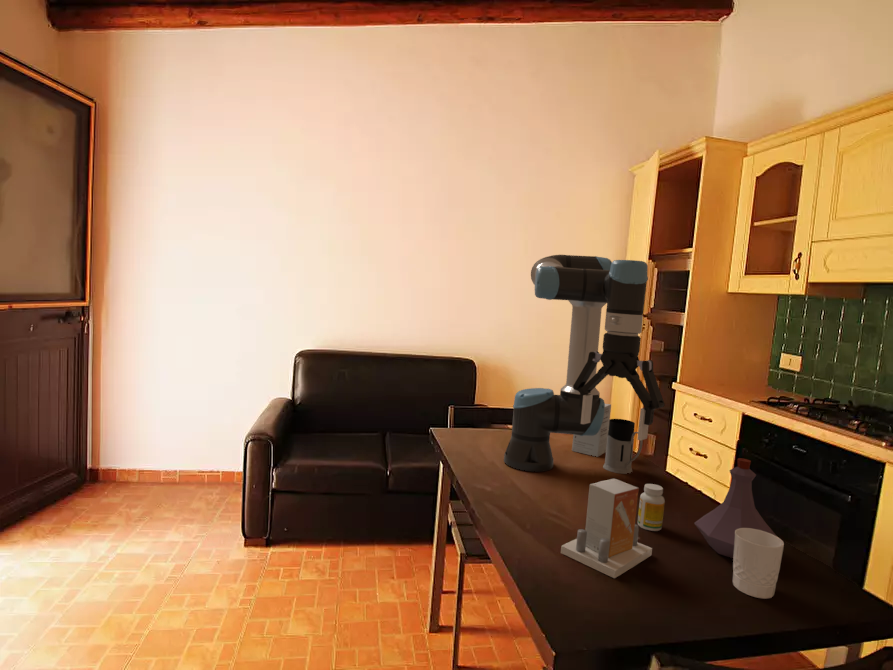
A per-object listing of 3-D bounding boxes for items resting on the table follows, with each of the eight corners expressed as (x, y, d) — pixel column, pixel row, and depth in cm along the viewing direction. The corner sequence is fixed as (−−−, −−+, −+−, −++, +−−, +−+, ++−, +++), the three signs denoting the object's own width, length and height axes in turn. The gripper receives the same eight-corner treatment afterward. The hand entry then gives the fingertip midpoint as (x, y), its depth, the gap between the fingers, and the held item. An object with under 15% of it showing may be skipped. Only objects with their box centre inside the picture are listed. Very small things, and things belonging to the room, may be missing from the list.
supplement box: (570, 451, 183) (575, 402, 181) (580, 445, 190) (584, 399, 189) (598, 457, 177) (603, 407, 176) (607, 451, 185) (611, 403, 184)
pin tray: (560, 552, 109) (563, 526, 108) (599, 533, 119) (602, 509, 118) (614, 578, 100) (617, 550, 100) (651, 555, 110) (654, 529, 110)
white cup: (720, 577, 103) (726, 527, 102) (758, 577, 104) (764, 528, 103) (746, 600, 95) (752, 546, 95) (787, 601, 96) (794, 547, 95)
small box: (608, 559, 104) (614, 494, 103) (582, 545, 109) (588, 483, 108) (633, 549, 109) (639, 487, 108) (607, 536, 114) (613, 477, 113)
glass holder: (620, 463, 172) (625, 418, 171) (650, 479, 159) (655, 429, 157) (597, 464, 169) (601, 418, 168) (625, 480, 156) (630, 430, 155)
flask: (741, 575, 104) (753, 476, 103) (675, 538, 119) (684, 450, 118) (796, 563, 111) (808, 470, 109) (727, 529, 126) (736, 446, 124)
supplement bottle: (632, 523, 126) (636, 483, 125) (648, 520, 128) (652, 481, 127) (650, 533, 121) (654, 492, 120) (667, 529, 123) (671, 489, 123)
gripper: (562, 327, 120) (554, 419, 122) (672, 341, 102) (660, 449, 104) (581, 326, 125) (573, 415, 127) (689, 340, 107) (677, 443, 109)
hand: (612, 431), depth 116 cm, fingers open, 13 cm apart
